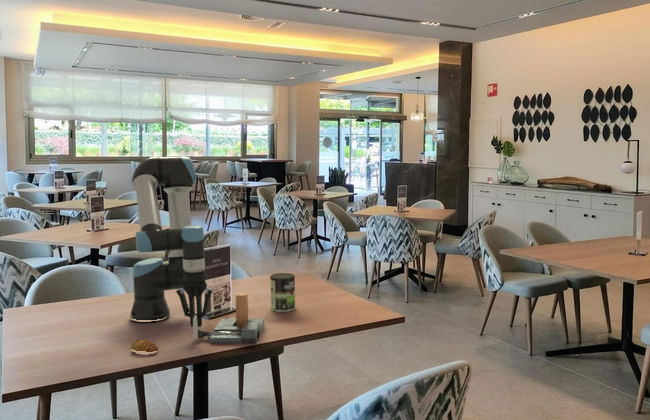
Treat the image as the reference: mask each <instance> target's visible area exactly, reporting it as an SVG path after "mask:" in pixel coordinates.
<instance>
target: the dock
mask: <svg viewBox="0 0 650 420" xmlns="http://www.w3.org/2000/svg"><path fill="white" fill-rule="evenodd" d="M264 329H265V318H248V322H246V323H245V324H244V326H236V317H235V318H228V317H227V318H223V317H222V318H221V320H220V321H219V322H218V323H217V325H216V326H215V327H214V329H213V331H214V332H241V335H212V336H211V337H207V339H206V340H207V342H209V343H210V344H257V342H258V339H259V338H260V336H261V335H262V333H263V330H264Z"/></svg>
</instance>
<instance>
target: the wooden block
mask: <svg viewBox="0 0 650 420" xmlns="http://www.w3.org/2000/svg"><path fill="white" fill-rule="evenodd" d="M234 297H235V318H236V326H244V324H245V323H246V322H248V319H249V295H248V293H242V292H241V293H236V294H235V296H234Z"/></svg>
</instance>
